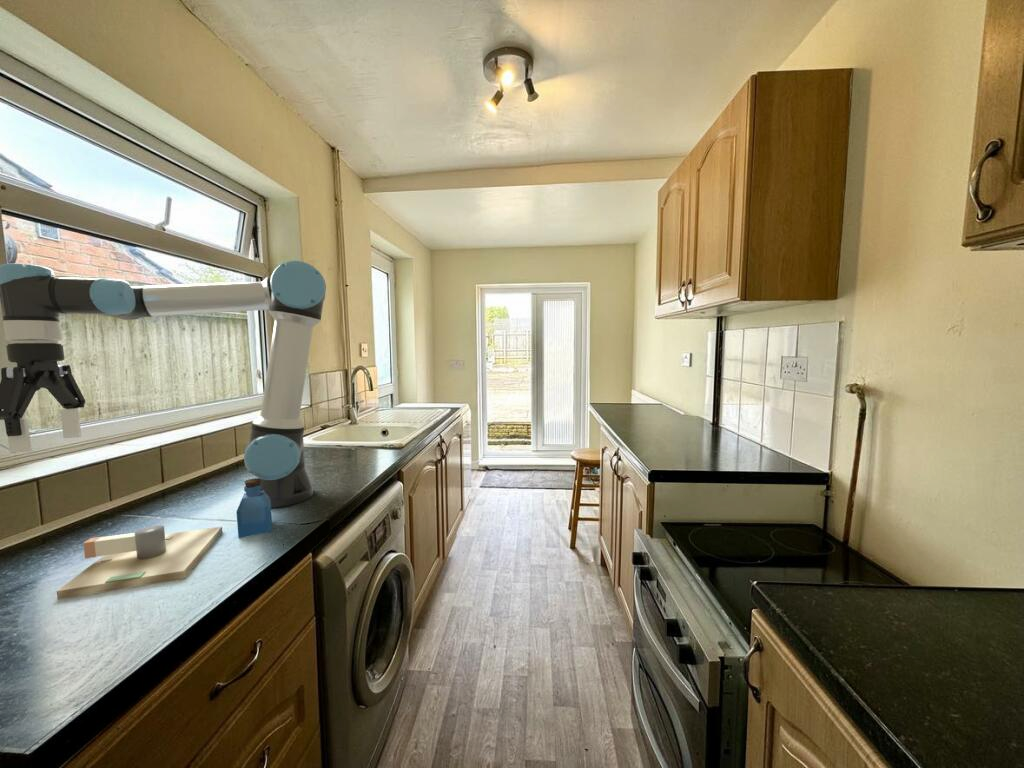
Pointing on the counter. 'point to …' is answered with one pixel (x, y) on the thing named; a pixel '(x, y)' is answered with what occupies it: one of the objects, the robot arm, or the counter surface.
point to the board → (143, 565)
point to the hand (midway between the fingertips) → (48, 444)
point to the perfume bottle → (254, 510)
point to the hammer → (129, 543)
